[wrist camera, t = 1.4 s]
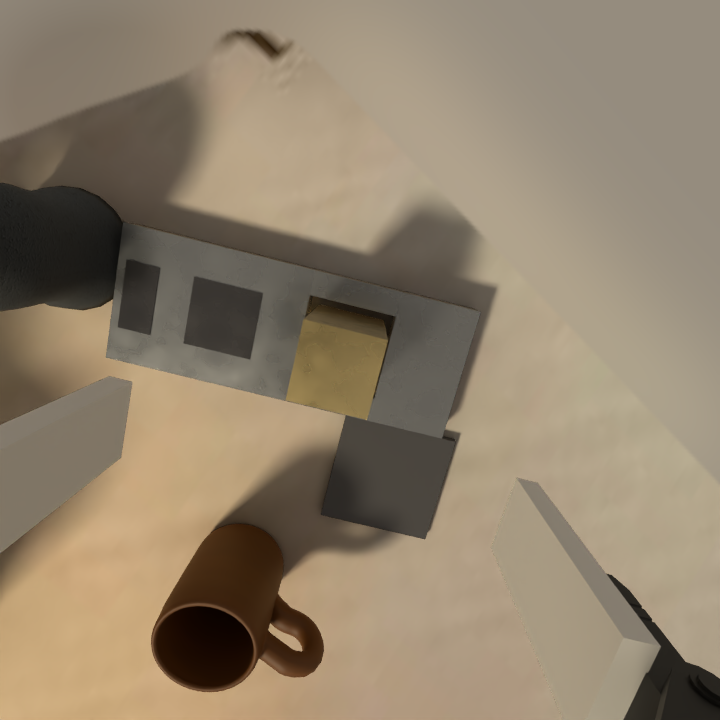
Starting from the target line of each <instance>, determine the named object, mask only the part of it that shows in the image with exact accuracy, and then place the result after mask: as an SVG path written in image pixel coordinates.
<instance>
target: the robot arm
mask: <svg viewBox="0 0 720 720" xmlns="http://www.w3.org/2000/svg"><path fill="white" fill-rule="evenodd" d="M131 388H132V382H131V381H127V380H123V379H119V378H115V377H111V376H109V377H106V378H104V379H102V380H100V381H97V382H95V383H93V384H91V385H88V386H86V387H84V388H82V389H79V390H77V391H75V392H73V393H70V394H68V395H66V396H64V397H61V398H59V399H57V400H55V401H53V402H50V403H48V404H46V405H44V406H41V407H39V408H37V409H35V410H32V411H30V412H28V413H26V414H23V415H21V416H19V417H17V418H14V419H12V420H10V421H8V422H5V423H3V424H1V425H0V553H1V552H3V551H4V550H5V549H6V548H8V547H9V546H10V545H12V544H13V543H14V542H15V541H17V540H18V539H19V538H20V537H22V536H23V535H24V534H25V533H27V532H28V531H29V530H30V529H32V528H33V527H34V526H35V525H37V524H38V523H39V522H40V521H42V520H43V519H44V518H46V517H47V516H48V515H49V514H51V513H52V512H53V511H54V510H56V509H57V508H58V507H59V506H61V505H62V504H63V503H64V502H66V501H67V500H68V499H69V498H71V497H72V496H73V495H75V494H76V493H77V492H78V491H80V490H81V489H82V488H83V487H85V486H86V485H87V484H88V483H90V482H91V481H92V480H93V479H95V478H96V477H97V476H98V475H100V474H101V473H102V472H103V471H105V470H106V469H107V468H109V467H110V466H111V465H112V464H114V463H115V462H116V461H117V460H119V459H120V458H121V454H122V448H123V441H124V434H125V428H126V421H127V415H128V408H129V401H130V395H131ZM491 549H492V552H493V554H494V556H495V559H496V561H497V564H498V566H499V568H500V571H501V573H502V576H503V578H504V580H505V583H506V585H507V587H508V590H509V592H510V595H511V597H512V599H513V602H514V604H515V607H516V609H517V611H518V614H519V616H520V618H521V621H522V623H523V626H524V628H525V630H526V633H527V635H528V638H529V640H530V642H531V645H532V647H533V650H534V652H535V654H536V657H537V659H538V661H539V664H540V666H541V669H542V671H543V673H544V676H545V678H546V681H547V683H548V685H549V688H550V690H551V692H552V695H553V697H554V700H555V702H556V704H557V707H558V709H559V712H560V714H561V716H562V719H563V720H720V679H719V678H718V677H716V676H715V675H714V674H712V673H710V672H708V671H706V670H705V669H703V668H701V667H699V666H696V665H693V664H690V663H687V662H685V661H684V659H683V658H682V657H681V656H680V654H679V653H678V652H677V650H676V649H675V648H674V647H673V645H672V644H671V643H670V642H669V640H668V639H667V638H666V636H665V635H664V634H663V633H662V631H661V630H660V629H659V628H658V626H657V625H656V624H655V623H654V622H652V619H651V617H650V616H649V615H648V614H647V612H646V611H645V610H644V609H642V606H641V605H640V603H639V602H638V601H637V599H636V598H635V597H634V596H633V594H632V593H631V592H630V591H629V590H628V589H627V588H626V587H625V586H624V585H623V584H621V583H620V582H619V581H618V580H617V579H616V578H614V577H613V576H612V575H609V574H606V573H605V572H604V570H603V569H602V568H601V566H600V565H599V564H598V562H597V561H596V560H595V558H594V557H593V556H592V554H591V553H590V552H589V550H588V549H587V548H586V546H585V545H584V544H583V542H582V541H581V540H580V538H579V537H578V536H577V534H576V533H575V532H574V530H573V529H572V528H571V526H570V525H569V524H568V522H567V521H566V520H565V518H564V517H563V516H562V514H561V513H560V512H559V510H558V509H557V508H556V506H555V505H554V504H553V502H552V501H551V500H550V498H549V497H548V496H547V494H546V493H545V492H544V490H543V489H542V488H541V486H540V485H539V484H538V483H536V482H532V481H528V480H524V479H520V478H516V479H515V482H514V485H513V488H512V490H511V493H510V496H509V499H508V502H507V504H506V507H505V510H504V513H503V515H502V518H501V521H500V524H499V526H498V529H497V532H496V535H495V537H494V540H493V543H492V546H491Z"/></svg>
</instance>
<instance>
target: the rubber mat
mask: <svg viewBox="0 0 720 720" xmlns="http://www.w3.org/2000/svg"><path fill="white" fill-rule="evenodd" d="M455 443H456V442H455V440H454V439H452V438H448V437H444V436H443V437H442V439H441V438H437V437H433V436H429V435H425V434H421V433H417V432H412V431H408V430H404V429H400V428H396V427H392V426H388V425H383V424H379V423H375V422H371V421H367V420H363V419H359V418H354V417H350V416H346V417H345V421H344V425H343V429H342V433H341V437H340V441H339V445H338V449H337V453H336V457H335V460H334V464H333V468H332V472H331V476H330V480H329V484H328V488H327V492H326V496H325V500H324V504H323V508H322V512H321V515H323V516H328V517H332V518H336V519H341V520H345V521H349V522H353V523H358V524H362V525H366V526H371V527H375V528H379V529H383V530H388V531H392V532H396V533H401V534H405V535H409V536H413V537H418V538H422V539H425V538H426V535H427V532H428V529H429V525H430V522H431V519H432V516H433V513H434V509H435V506H436V503H437V500H438V497H439V494H440V490H441V487H442V484H443V481H444V478H445V474H446V471H447V468H448V465H449V462H450V458H451V455H452V452H453V449H454V446H455Z"/></svg>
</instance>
